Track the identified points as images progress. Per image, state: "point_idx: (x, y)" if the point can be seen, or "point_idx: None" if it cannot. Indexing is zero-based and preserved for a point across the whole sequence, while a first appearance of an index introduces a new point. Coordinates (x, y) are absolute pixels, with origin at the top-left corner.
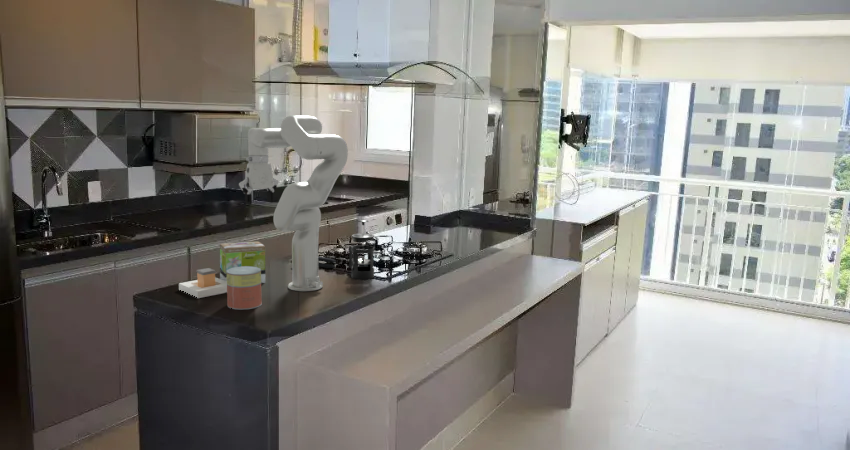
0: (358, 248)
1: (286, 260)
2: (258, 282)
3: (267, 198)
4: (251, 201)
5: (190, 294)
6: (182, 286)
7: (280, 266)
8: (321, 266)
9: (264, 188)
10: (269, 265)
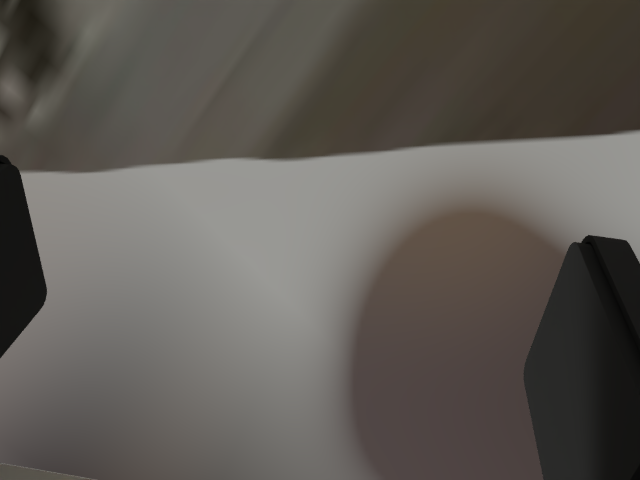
0: None
1: (74, 112)
2: None
3: (9, 327)
4: (593, 277)
5: None
6: None
7: (183, 13)
8: None
9: (11, 470)
10: (223, 89)
